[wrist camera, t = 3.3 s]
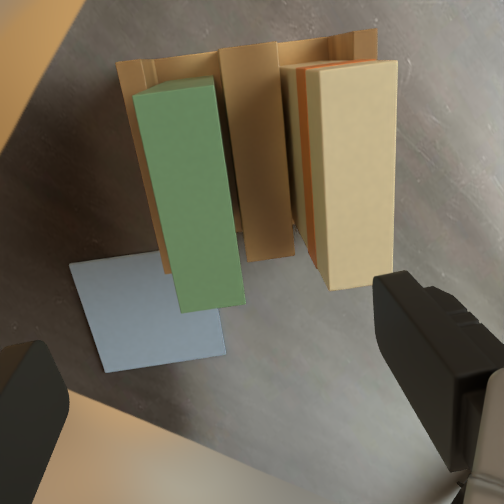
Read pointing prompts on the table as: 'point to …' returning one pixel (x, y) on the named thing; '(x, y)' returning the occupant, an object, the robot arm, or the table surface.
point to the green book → (192, 191)
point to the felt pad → (142, 314)
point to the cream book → (342, 164)
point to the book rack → (245, 127)
